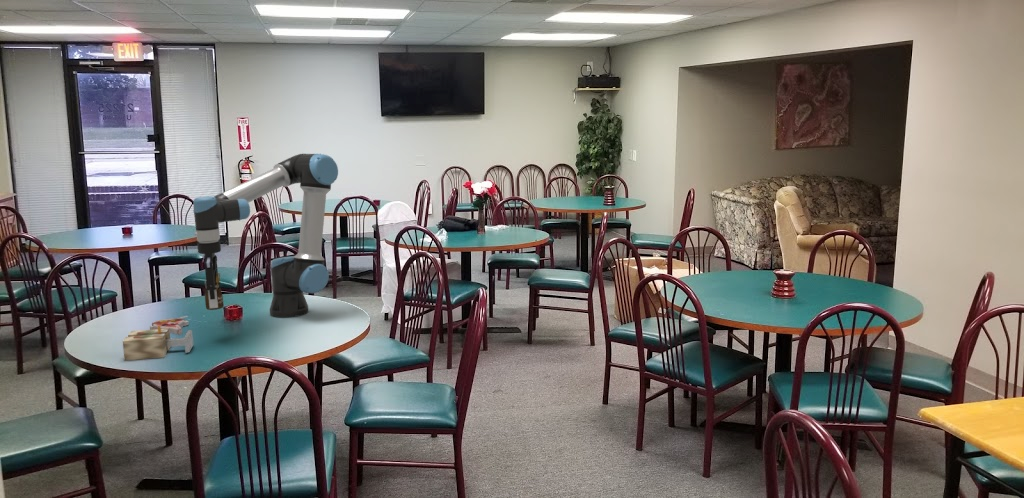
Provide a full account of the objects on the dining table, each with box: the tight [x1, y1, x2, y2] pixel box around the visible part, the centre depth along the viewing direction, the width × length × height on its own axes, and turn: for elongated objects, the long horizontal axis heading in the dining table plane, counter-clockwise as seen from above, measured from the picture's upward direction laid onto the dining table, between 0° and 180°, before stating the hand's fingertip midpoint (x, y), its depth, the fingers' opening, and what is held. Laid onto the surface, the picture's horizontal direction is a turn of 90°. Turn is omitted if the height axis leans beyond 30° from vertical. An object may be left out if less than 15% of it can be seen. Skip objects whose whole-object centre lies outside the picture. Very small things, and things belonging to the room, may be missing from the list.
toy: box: [149, 315, 189, 336], centre depth 291 cm, size 15×4×20 cm
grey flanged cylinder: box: [158, 325, 194, 354], centre depth 261 cm, size 14×9×9 cm, turn 104°
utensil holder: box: [203, 272, 224, 311], centre depth 273 cm, size 6×6×12 cm
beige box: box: [122, 328, 171, 361], centre depth 260 cm, size 12×13×7 cm
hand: (215, 305), depth 273 cm, fingers closed on utensil holder, 6 cm apart
